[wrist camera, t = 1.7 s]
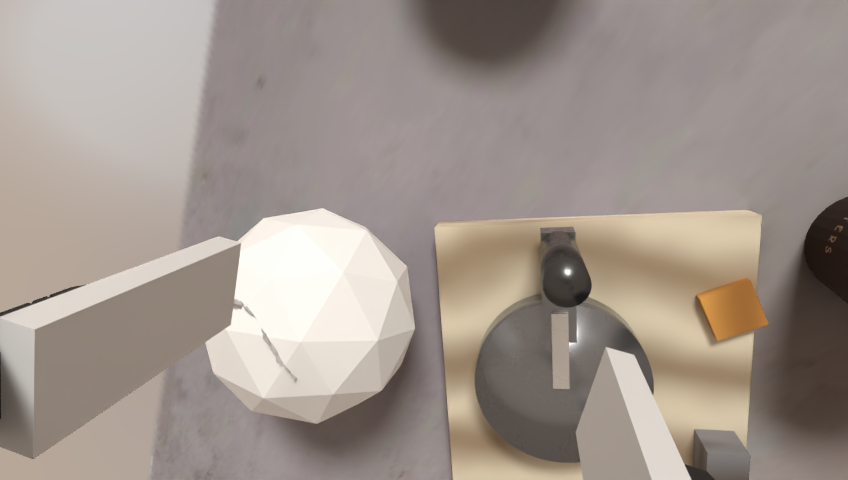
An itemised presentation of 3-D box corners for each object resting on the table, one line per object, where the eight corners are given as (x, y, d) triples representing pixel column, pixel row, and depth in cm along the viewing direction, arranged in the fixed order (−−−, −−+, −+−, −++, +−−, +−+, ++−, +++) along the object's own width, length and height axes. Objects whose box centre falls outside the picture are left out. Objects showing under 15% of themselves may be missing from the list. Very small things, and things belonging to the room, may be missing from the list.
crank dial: (643, 444, 34) (685, 559, 25) (482, 436, 36) (467, 539, 27) (647, 219, 31) (697, 259, 22) (469, 226, 33) (448, 264, 24)
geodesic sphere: (152, 294, 36) (128, 464, 25) (236, 132, 32) (251, 251, 21) (328, 339, 44) (367, 482, 33) (413, 213, 40) (490, 330, 29)
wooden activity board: (737, 489, 36) (777, 559, 30) (457, 470, 41) (445, 529, 35) (755, 209, 32) (806, 228, 26) (439, 221, 36) (422, 240, 30)
